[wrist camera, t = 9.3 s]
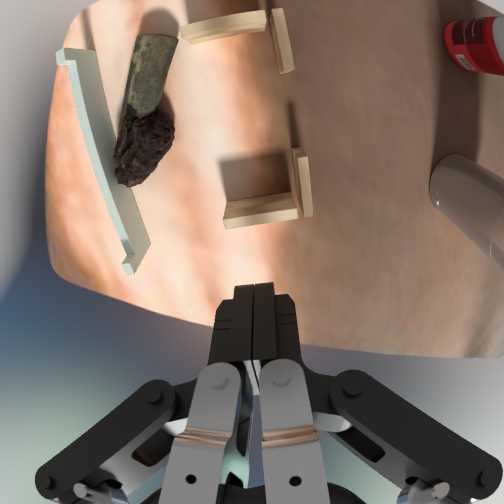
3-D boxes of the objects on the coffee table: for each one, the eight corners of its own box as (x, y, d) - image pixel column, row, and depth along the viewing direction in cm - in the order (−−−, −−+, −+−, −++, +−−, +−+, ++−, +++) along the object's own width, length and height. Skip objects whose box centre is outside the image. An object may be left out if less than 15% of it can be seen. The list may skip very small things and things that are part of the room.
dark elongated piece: (144, 39, 23) (125, 31, 18) (199, 44, 24) (189, 34, 19) (121, 174, 32) (101, 189, 27) (169, 183, 33) (155, 200, 28)
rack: (95, 51, 23) (63, 47, 17) (151, 243, 37) (134, 273, 32) (87, 54, 23) (55, 53, 17) (143, 245, 38) (126, 274, 32)
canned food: (484, 73, 22) (537, 83, 12) (447, 68, 23) (504, 74, 13) (474, 26, 18) (525, 26, 8) (435, 17, 19) (489, 8, 9)
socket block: (277, 20, 22) (282, 8, 18) (305, 199, 34) (313, 216, 30) (190, 35, 23) (179, 26, 19) (228, 210, 35) (225, 229, 31)
